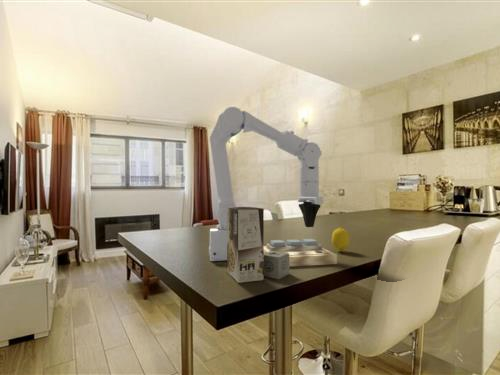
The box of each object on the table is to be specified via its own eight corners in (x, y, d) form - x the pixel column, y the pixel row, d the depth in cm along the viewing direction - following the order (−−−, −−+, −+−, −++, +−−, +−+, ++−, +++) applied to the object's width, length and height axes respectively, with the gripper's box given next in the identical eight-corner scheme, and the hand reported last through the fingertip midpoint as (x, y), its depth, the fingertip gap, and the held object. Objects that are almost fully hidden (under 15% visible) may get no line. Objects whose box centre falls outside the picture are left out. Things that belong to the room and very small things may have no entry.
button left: (273, 247, 78) (273, 242, 78) (270, 245, 82) (270, 240, 82) (285, 247, 79) (285, 242, 79) (281, 244, 82) (281, 240, 82)
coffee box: (264, 280, 60) (264, 208, 60) (237, 283, 58) (237, 208, 58) (250, 269, 69) (250, 206, 69) (226, 271, 66) (226, 206, 67)
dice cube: (271, 270, 68) (271, 250, 68) (289, 274, 65) (289, 253, 65) (260, 275, 64) (260, 254, 64) (278, 279, 61) (278, 257, 61)
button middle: (290, 247, 79) (290, 242, 79) (286, 244, 83) (286, 239, 83) (301, 246, 80) (301, 241, 80) (297, 244, 83) (297, 239, 83)
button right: (306, 246, 80) (306, 241, 80) (301, 244, 84) (301, 239, 84) (317, 246, 81) (317, 241, 81) (312, 243, 84) (312, 238, 84)
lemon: (351, 253, 85) (351, 228, 86) (334, 253, 86) (334, 228, 86) (346, 249, 91) (346, 226, 91) (329, 249, 91) (329, 226, 91)
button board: (273, 267, 70) (273, 253, 70) (260, 254, 85) (260, 242, 85) (337, 263, 73) (336, 250, 74) (314, 251, 88) (314, 240, 88)
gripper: (332, 181, 76) (333, 229, 76) (311, 183, 90) (312, 223, 90) (309, 181, 75) (309, 230, 75) (291, 183, 89) (292, 224, 89)
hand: (309, 226), depth 82 cm, fingers closed
